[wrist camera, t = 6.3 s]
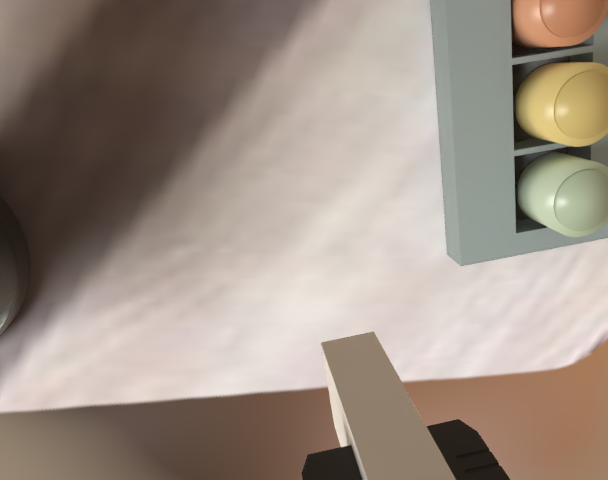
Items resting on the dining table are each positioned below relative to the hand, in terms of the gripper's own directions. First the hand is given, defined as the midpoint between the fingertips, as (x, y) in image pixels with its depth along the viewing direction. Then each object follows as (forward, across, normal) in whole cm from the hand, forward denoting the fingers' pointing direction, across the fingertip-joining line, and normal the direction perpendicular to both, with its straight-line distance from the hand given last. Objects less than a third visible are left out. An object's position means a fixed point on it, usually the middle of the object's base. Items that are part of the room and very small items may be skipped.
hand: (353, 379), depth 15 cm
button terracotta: (+24, +19, +9) cm, 32 cm away
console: (+24, +19, +3) cm, 31 cm away
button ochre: (+22, +19, +3) cm, 29 cm away
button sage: (+22, +19, -3) cm, 29 cm away
